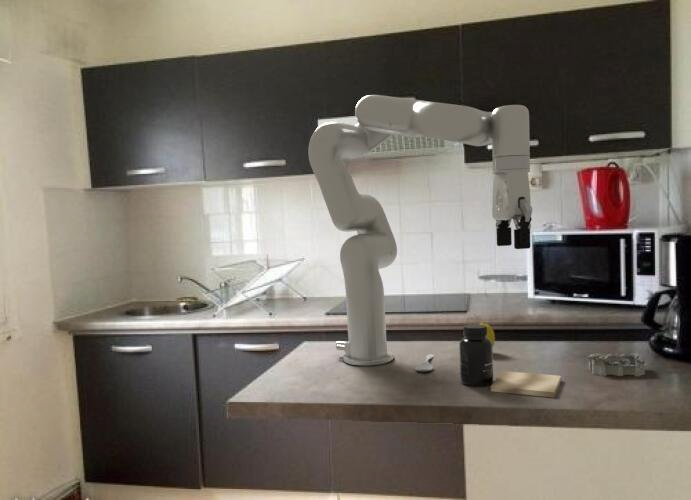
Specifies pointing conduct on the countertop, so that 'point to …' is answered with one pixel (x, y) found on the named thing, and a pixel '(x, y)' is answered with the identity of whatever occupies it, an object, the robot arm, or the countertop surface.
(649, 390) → the countertop surface
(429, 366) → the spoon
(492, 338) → the lemon
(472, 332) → the supplement bottle
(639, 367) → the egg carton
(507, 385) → the cutting board
